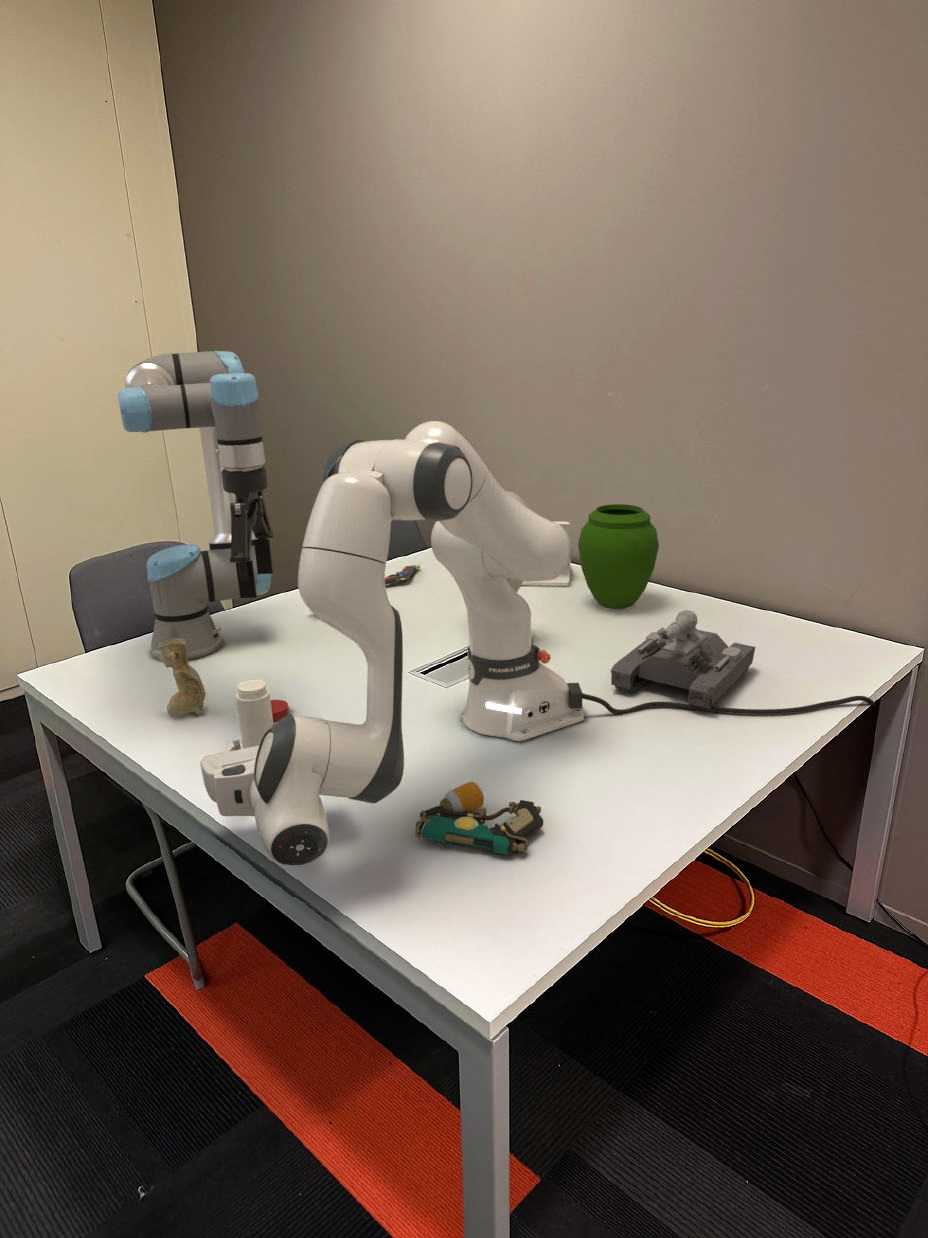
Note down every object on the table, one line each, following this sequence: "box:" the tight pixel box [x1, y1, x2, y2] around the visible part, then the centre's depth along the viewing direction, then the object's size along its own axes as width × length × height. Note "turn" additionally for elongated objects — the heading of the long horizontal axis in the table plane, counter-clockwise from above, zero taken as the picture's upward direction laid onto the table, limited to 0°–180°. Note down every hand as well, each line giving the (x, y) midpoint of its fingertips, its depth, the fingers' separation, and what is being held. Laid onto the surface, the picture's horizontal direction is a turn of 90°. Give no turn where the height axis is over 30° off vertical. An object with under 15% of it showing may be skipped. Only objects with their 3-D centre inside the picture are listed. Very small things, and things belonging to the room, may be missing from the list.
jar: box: [235, 678, 274, 749], centre depth 142 cm, size 5×5×15 cm
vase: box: [577, 503, 660, 610], centre depth 210 cm, size 20×20×24 cm
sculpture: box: [158, 638, 207, 717], centre depth 162 cm, size 6×7×15 cm
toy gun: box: [385, 564, 421, 586], centre depth 239 cm, size 3×19×10 cm
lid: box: [270, 699, 290, 723], centre depth 162 cm, size 6×6×2 cm
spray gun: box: [415, 781, 544, 856], centre depth 124 cm, size 4×17×15 cm
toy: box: [610, 609, 756, 710], centre depth 169 cm, size 25×20×15 cm
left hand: (257, 585), depth 154 cm, fingers open, 13 cm apart
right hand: (266, 738), depth 131 cm, fingers open, 8 cm apart
